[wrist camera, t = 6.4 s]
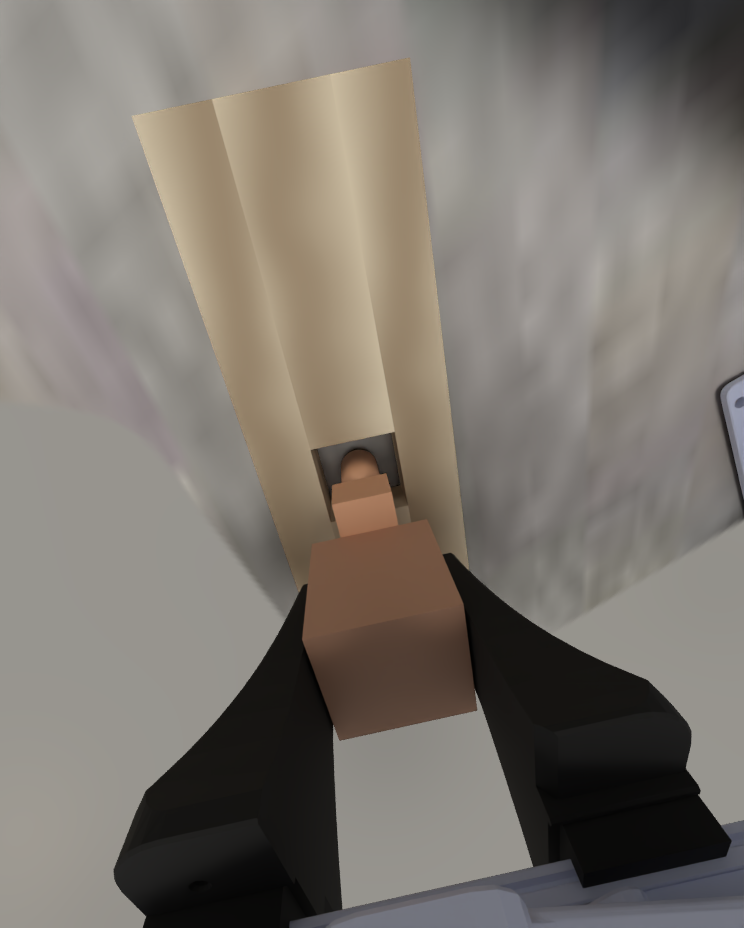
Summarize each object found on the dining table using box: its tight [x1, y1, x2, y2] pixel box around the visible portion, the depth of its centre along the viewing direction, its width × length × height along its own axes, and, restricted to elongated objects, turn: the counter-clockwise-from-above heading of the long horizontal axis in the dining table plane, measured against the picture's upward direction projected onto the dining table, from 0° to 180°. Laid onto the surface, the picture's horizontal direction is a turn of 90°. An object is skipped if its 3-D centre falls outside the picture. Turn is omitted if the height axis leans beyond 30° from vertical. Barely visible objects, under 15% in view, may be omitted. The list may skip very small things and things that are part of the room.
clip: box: [302, 450, 477, 740], centre depth 14 cm, size 4×7×8 cm, turn 11°
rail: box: [132, 58, 469, 592], centre depth 16 cm, size 8×22×2 cm, turn 11°
